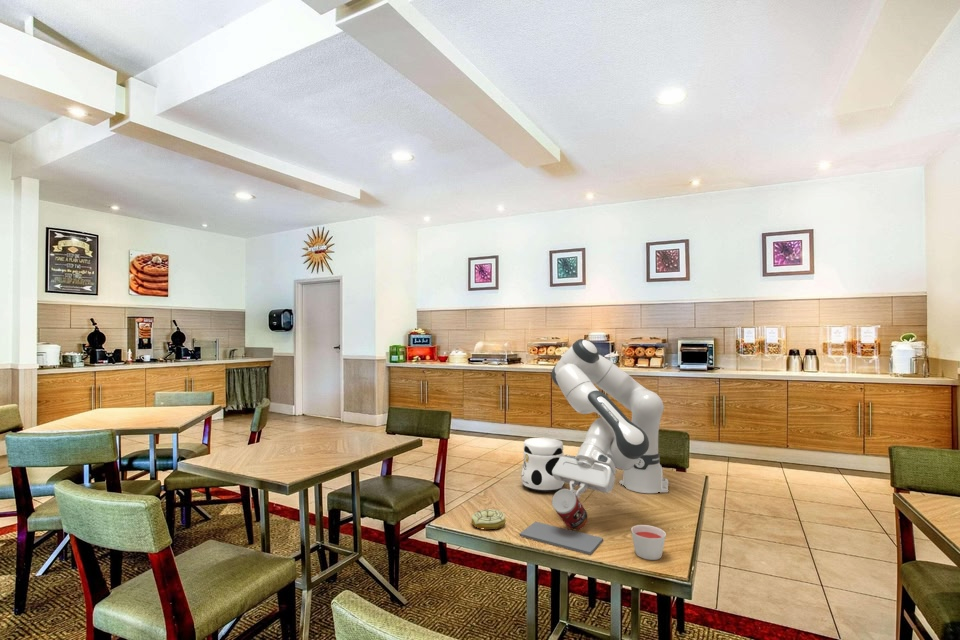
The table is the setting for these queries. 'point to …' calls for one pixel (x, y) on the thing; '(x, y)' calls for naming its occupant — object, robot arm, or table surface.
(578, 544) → the mat
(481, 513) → the decorated donut
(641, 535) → the candle
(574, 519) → the canned food
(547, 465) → the milk container
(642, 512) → the table surface
